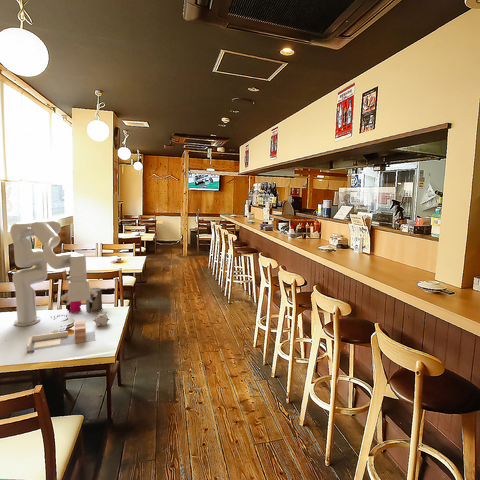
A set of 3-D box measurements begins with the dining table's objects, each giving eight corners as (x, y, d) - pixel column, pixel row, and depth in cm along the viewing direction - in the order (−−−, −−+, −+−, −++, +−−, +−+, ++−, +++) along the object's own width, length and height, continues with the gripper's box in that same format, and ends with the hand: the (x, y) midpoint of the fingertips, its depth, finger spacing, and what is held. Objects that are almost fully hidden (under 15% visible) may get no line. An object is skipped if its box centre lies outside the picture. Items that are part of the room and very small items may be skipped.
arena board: (30, 342, 166) (30, 335, 165) (94, 333, 179) (94, 327, 178) (27, 353, 155) (26, 346, 155) (95, 342, 168) (95, 336, 168)
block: (75, 334, 174) (74, 322, 173) (85, 333, 176) (85, 321, 175) (75, 342, 165) (74, 329, 164) (85, 341, 167) (85, 328, 166)
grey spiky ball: (103, 333, 187) (101, 324, 180) (90, 327, 188) (89, 318, 181) (113, 321, 193) (112, 312, 186) (101, 315, 194) (99, 306, 187)
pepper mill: (78, 308, 215) (77, 278, 212) (83, 310, 210) (82, 281, 208) (67, 310, 209) (65, 280, 206) (72, 313, 205) (70, 283, 202)
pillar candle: (105, 308, 216) (104, 286, 214) (95, 313, 207) (94, 290, 205) (93, 306, 219) (92, 285, 217) (82, 311, 210) (81, 289, 207)
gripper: (58, 281, 158) (60, 315, 161) (97, 278, 166) (98, 310, 168) (59, 278, 165) (61, 310, 167) (96, 275, 173) (97, 306, 175)
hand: (80, 310), depth 168 cm, fingers open, 9 cm apart
